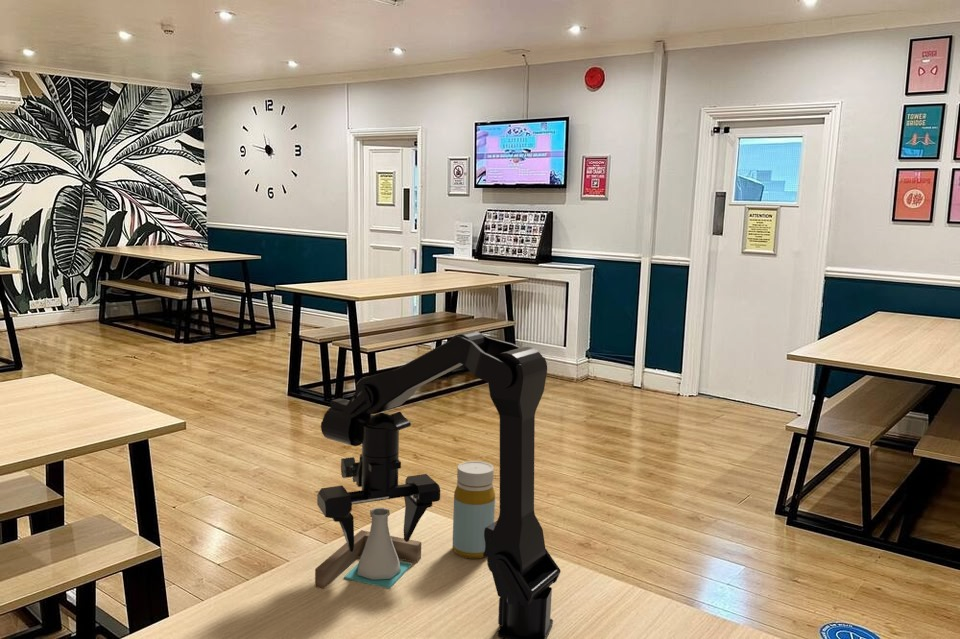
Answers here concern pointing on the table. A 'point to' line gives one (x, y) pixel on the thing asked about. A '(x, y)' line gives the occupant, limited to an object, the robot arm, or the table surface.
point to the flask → (379, 549)
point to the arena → (345, 558)
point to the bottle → (473, 508)
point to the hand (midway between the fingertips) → (379, 545)
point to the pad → (378, 582)
